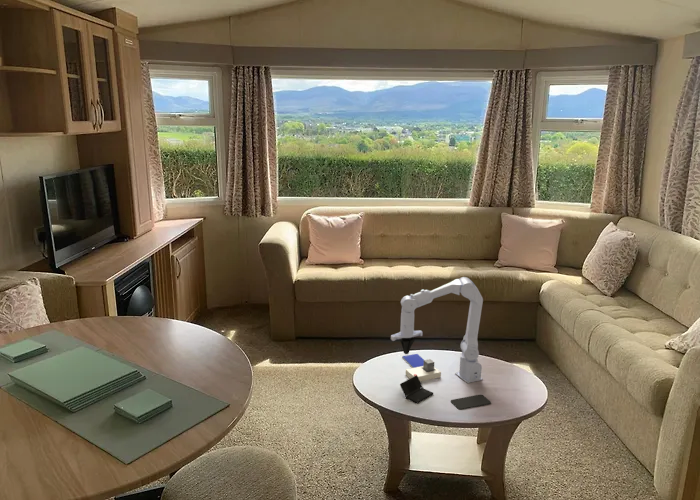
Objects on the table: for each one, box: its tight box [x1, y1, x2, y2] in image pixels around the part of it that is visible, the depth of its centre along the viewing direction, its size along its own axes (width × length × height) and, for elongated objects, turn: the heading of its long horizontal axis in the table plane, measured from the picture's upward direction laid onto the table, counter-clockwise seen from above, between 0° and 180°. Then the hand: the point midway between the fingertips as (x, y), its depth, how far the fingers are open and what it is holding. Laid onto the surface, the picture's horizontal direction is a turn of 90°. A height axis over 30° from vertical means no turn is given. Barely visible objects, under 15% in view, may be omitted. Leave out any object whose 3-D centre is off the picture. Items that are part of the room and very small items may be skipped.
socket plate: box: [405, 366, 442, 383], centre depth 236 cm, size 8×13×3 cm, turn 114°
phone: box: [450, 393, 492, 411], centre depth 216 cm, size 7×1×15 cm
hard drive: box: [401, 353, 425, 368], centre depth 250 cm, size 2×8×12 cm
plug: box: [423, 358, 435, 372], centre depth 238 cm, size 3×3×6 cm
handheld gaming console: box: [399, 376, 434, 405], centre depth 220 cm, size 12×7×10 cm
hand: (406, 353), depth 235 cm, fingers closed
